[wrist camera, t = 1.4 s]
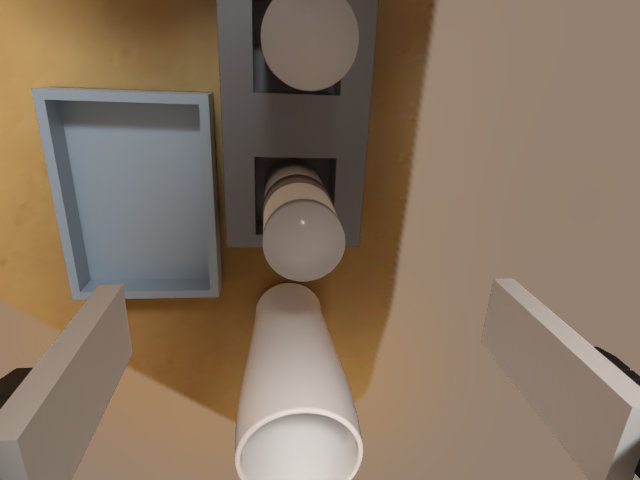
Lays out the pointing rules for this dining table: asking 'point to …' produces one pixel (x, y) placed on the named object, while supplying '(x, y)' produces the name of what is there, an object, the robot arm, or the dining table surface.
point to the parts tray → (134, 189)
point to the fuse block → (289, 122)
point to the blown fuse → (300, 223)
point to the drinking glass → (295, 396)
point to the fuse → (309, 41)
